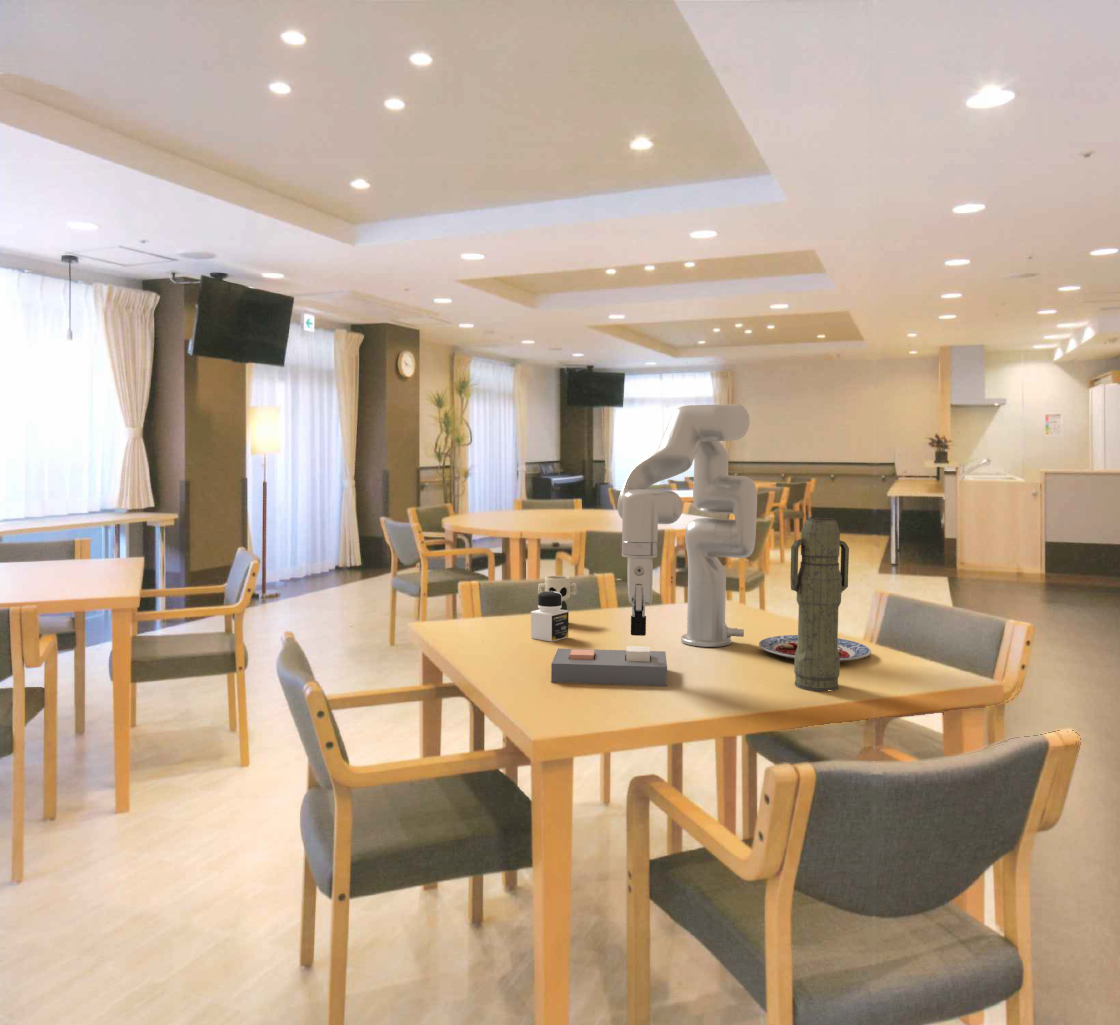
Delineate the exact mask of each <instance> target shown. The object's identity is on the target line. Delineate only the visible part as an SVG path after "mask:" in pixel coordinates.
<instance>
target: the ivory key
mask: <svg viewBox="0 0 1120 1025" xmlns="http://www.w3.org/2000/svg"><path fill="white" fill-rule="evenodd" d="M650 651H651V647H650V646H639V645H638V646H637V645H626V661H647V662H650Z"/></svg>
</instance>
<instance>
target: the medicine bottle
mask: <svg viewBox="0 0 1120 1025" xmlns="http://www.w3.org/2000/svg"><path fill="white" fill-rule="evenodd" d="M537 596H538V598H537V608H538V609H536V610H531V611H530V638H531V639H533V640H539V641H545V642H551V643H554V642H557V641H561V640H563V639H564V640H565V639H568V638H569V610H568V609H567V610H561V609H560V608H562V595H561V594H560V593H558V592H554V591H545V590H544V591H542V592H541V593H539V594H538V595H537Z"/></svg>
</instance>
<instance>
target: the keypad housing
mask: <svg viewBox="0 0 1120 1025" xmlns="http://www.w3.org/2000/svg"><path fill="white" fill-rule="evenodd" d="M572 649H573V648H559V647H558V648H557V650H556V653H554V656H553V659H552V661H551V672H550V673H551V676H550V677H551V680H550V682H551V683H563V684H564V683H567V684H591V685H592V684H593V685H595V684H596V685H620V686H621V685H622V686H624V685H625V686H627V685H628V686H652V687H653V686H654V687H657V686H658V687H668V663H667V655H666V654H667V653H666V652H667V651H664V650H663V651H659V650H650V662H647V661H626V650H627V649H626V650H623V649H594V648H593V649H592V648H591V649H590V648H589V649H587V648H577V649H578V650H595V660H580V659H570V653H571V650H572Z"/></svg>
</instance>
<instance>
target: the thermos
mask: <svg viewBox="0 0 1120 1025" xmlns="http://www.w3.org/2000/svg"><path fill="white" fill-rule="evenodd" d="M833 518H834V517H827V516H810V517H808V518H806V519H805V520H804V523H803V526H802V528H801V534H800V536H801V538H800V539H799V538H798V540H795V541H794V543H793V544H792V545H791V547H790V590H791V591H794V592H796V602H797V605H798V619H797V620H798V621H797V622H798V623H797V624H798V625H797V635H798V647H797V649H796V652H795V660H794V667H793V668H794V670H793V671H794V675H795V677H794V685H795V687H796V688H798V689H801V688H802V689H801V690H805V691H810V690H813V691H812V692H821V691H826V692H829V691H828V690H834V691H836V690H838V689H839V677H840V664H841V662H840V655H839V652H838V649H837V641H838V636H839V635H838V634H839V633H838V632H839V608H840V606H841V603H842V593H843V592H844V591H845V590H847V588H848V587H849V564H850V563H849V562H850V561H849V559H850V558H849V557H850V547H849V546H848V544H847V543H846V542H845V541H842V540H841V538H840V537H841V532H840V528H839V524H838V522H837V519H833ZM799 547H800V555H801V561H800V564H799ZM839 557H840V563H839ZM799 565H800V567H799ZM837 688H838V689H837ZM835 689H836V690H835Z"/></svg>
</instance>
